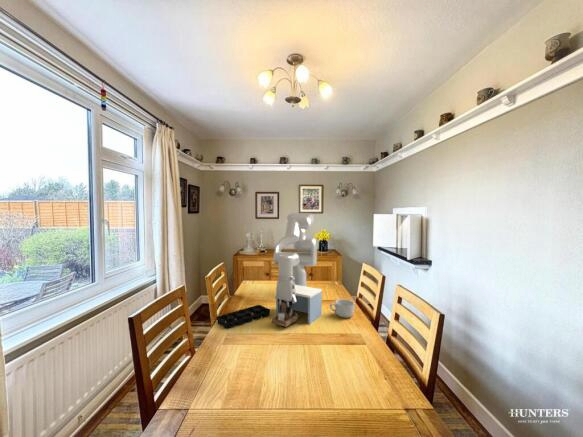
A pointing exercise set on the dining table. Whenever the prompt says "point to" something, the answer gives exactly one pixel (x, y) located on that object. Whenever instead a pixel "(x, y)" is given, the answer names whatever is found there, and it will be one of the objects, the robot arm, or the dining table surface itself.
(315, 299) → the white step stool
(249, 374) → the dining table surface
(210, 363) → the dining table surface
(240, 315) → the egg carton
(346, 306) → the teacup
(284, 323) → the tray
